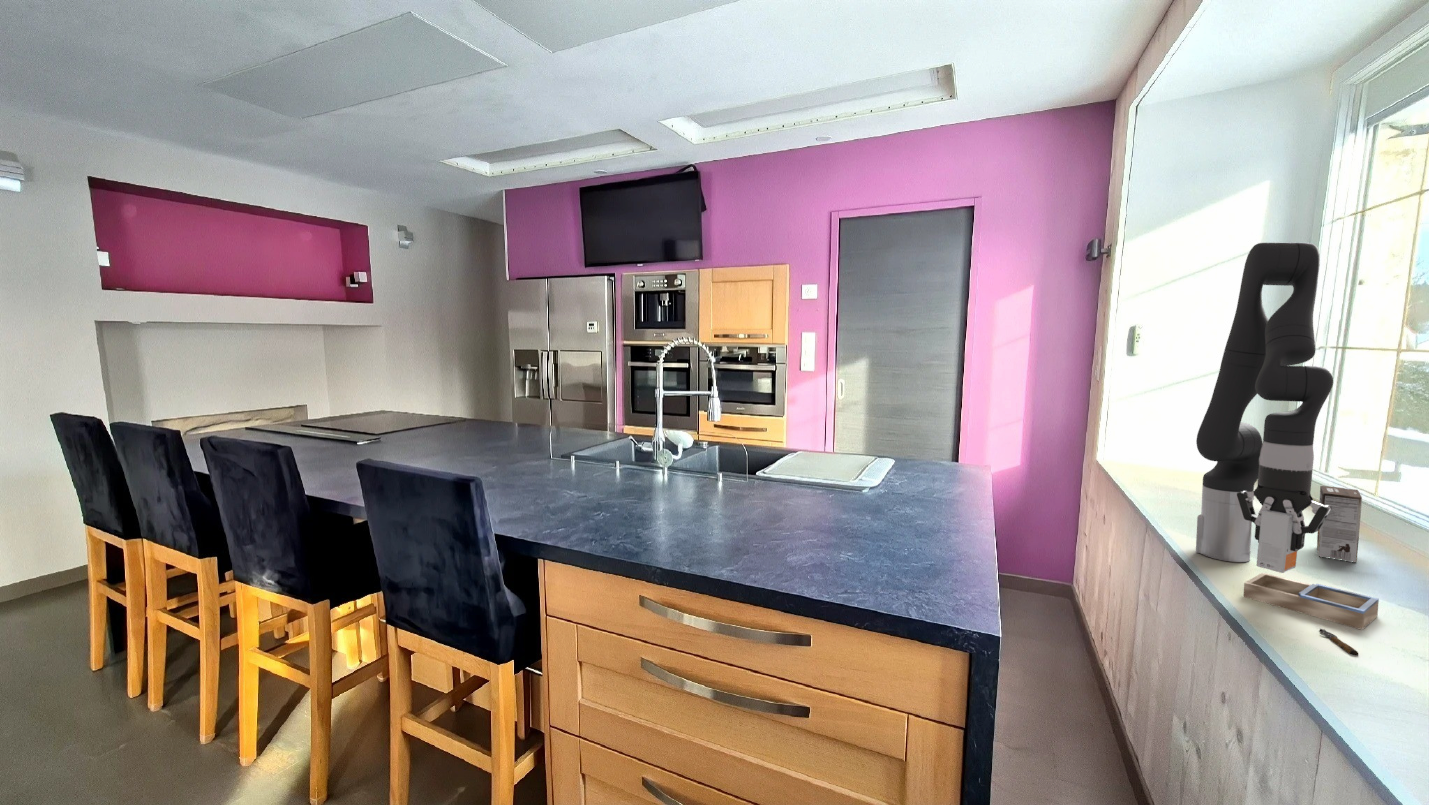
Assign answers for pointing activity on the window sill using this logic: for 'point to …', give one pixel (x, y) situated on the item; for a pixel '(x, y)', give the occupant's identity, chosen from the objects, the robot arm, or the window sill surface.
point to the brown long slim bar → (1339, 642)
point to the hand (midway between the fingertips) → (1278, 546)
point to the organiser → (1313, 600)
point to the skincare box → (1276, 542)
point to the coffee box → (1340, 523)
